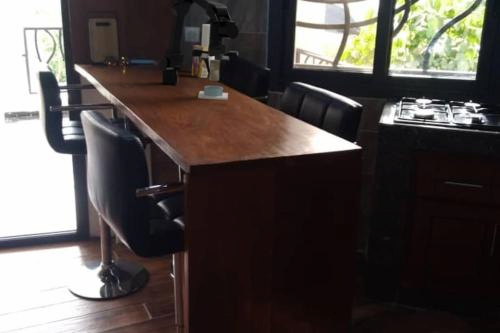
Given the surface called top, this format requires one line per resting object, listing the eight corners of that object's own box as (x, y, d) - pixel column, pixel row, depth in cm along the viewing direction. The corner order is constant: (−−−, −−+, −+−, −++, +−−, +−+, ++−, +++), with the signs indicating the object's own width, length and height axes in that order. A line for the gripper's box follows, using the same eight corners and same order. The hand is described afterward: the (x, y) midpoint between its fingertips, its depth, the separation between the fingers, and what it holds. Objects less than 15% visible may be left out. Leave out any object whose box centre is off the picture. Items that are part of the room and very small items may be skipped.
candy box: (208, 78, 279) (209, 47, 274) (201, 78, 276) (202, 47, 272) (198, 75, 285) (199, 45, 281) (191, 75, 283) (192, 45, 278)
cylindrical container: (211, 74, 290) (214, 25, 283) (198, 73, 292) (200, 24, 284) (215, 73, 297) (217, 25, 290) (202, 71, 298) (204, 24, 291)
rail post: (208, 80, 228) (209, 60, 225) (209, 78, 231) (210, 59, 229) (218, 81, 228) (219, 61, 225) (218, 79, 232) (220, 60, 229)
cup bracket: (197, 98, 226) (198, 88, 224) (199, 92, 237) (200, 84, 236) (227, 100, 226) (227, 90, 225) (227, 94, 238) (228, 86, 236)
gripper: (191, 36, 216) (190, 76, 221) (239, 40, 217) (236, 79, 222) (193, 34, 227) (192, 72, 232) (239, 37, 228) (236, 75, 232)
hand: (214, 75), depth 229 cm, fingers closed on rail post, 4 cm apart
